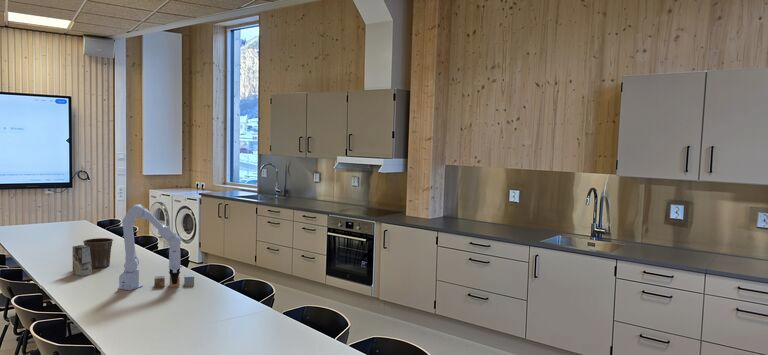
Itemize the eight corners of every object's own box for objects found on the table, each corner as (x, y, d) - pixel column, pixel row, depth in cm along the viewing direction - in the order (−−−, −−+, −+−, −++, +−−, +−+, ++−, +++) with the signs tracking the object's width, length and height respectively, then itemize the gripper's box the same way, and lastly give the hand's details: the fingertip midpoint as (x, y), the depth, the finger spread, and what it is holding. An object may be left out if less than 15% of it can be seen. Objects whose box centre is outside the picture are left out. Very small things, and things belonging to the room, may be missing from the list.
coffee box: (92, 274, 317) (92, 246, 316) (81, 276, 312) (81, 248, 310) (82, 271, 321) (82, 244, 320) (71, 273, 316) (71, 246, 315)
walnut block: (154, 287, 294) (154, 278, 293) (154, 285, 298) (154, 276, 298) (164, 287, 295) (164, 278, 295) (164, 284, 300) (164, 275, 300)
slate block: (184, 286, 299) (184, 277, 299) (184, 283, 304) (184, 274, 303) (194, 285, 301) (194, 276, 300) (193, 283, 305) (193, 274, 305)
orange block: (169, 286, 296) (169, 277, 296) (169, 284, 301) (169, 275, 301) (179, 286, 298) (179, 277, 298) (179, 283, 303) (179, 274, 302)
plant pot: (76, 268, 330) (76, 241, 329) (96, 262, 345) (96, 237, 344) (99, 270, 326) (99, 243, 325) (118, 264, 342) (119, 239, 341)
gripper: (182, 260, 293) (182, 285, 294) (182, 255, 307) (182, 279, 308) (168, 261, 291) (168, 286, 291) (168, 255, 304) (168, 279, 305)
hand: (174, 282), depth 299 cm, fingers closed on orange block, 5 cm apart
